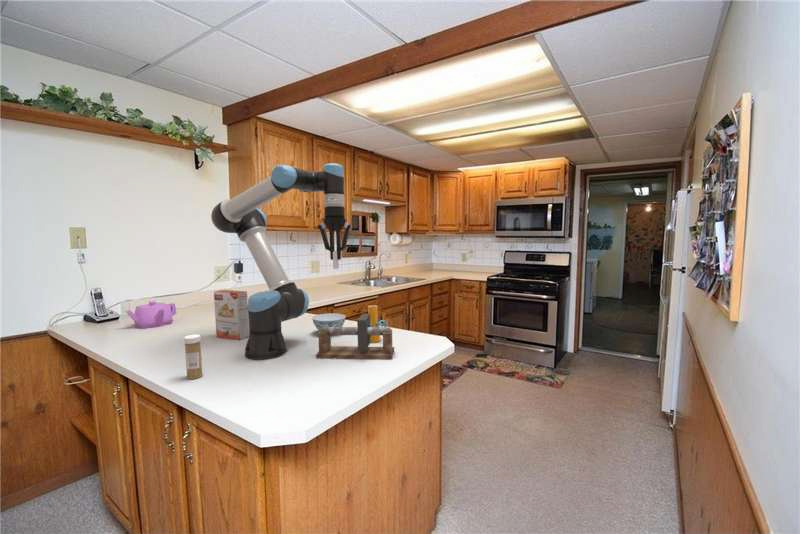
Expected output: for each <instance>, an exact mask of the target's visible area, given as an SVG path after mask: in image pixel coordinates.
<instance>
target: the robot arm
mask: <svg viewBox="0 0 800 534" xmlns="http://www.w3.org/2000/svg"><path fill="white" fill-rule="evenodd" d="M322 167H323V169H322V170H320V171H319V170H318V171H310V170H307V169H302V168H298V167H294V166H291V165H287V164H284V165H283V164H277V165H275V166H274V167H273V169H272V170H271V173H270V175H268V177H266V178H265V179H263V180H261V181H260V182H258V183H256V184H255V185H253V186H251V187H250V188H248V189H246V190H245V191H243V192H241V193H240V194H238V195H236V196H234V197H233V198H231V199H229V198H228V199H224V200H222V201H221V202H219V203H218V204H217V205H215V206H214V207H213V209H212V211H211V216H210V217H211V218H210V219H211V222H212V224H213V226H214V227H215V228H216V229H217V230H219V231H220V232H223V233H226V234H236V235H237V238H238V240H240V241H241V242H242V243H245V245H246V246H247V248H248V250H249V252H250V253H251V256H252V258H253V260H254V262H255V264H256V266H257V267H258V270H259V271H260V273H261V275H262V277H263V279H264V281H265V283H266V285H267V287H268V289H269V290H265V291H258V292H256V293H253V294H251V295H250V296H249V297H248V298H247V302H248V307H247V308H248V323H249V337H247V342H246V345H245V349H244V356H245V357H246V358H247V359H250V360H268V359H274V358H277V357H281V356H282V355H285V354H286V353H287V352H288V347H287V345H288V344H287V343H286V340H285V337H284V335H283V331H282V322H285V321H289V320H292V319H298V318H299V317H301V316H302V315H304V314H305V313H306V312H307V311H308V309H309V304H310V299H309V296H308V294H307V292H306V291H305V290H304V289H301V288H298V287H297V285H296V283H295V282H294V281H291V280H290V279H289V277H288V276H287V274H286V271H285V270H284V269H283V266H282V264H281V263H280V261H279V258H278V257H277V255H276V253H275V251H274V249H273V247H272V246H271V243H270V241H269V240H268V238H267V235H266V232H267V225H268V224H267V217H266V215H265V213H264V212H263V210H261V209H260V207H262V206H264V205H266V204H268V203H269V202H271V201H273V200H274V199H277V198H278V197H280V196H281V195H283V194H285V193H288V192H290V190H298V191H300V192H301V193H309V194H310V193H314V192H315V193H317V192H323V193H324V194H323V199H324V200H323V201H324V203H323V204H324V219H323V222H322V223H321V224H318V225H317V227H318V229H319V231H320V234H321V237H322V238H321V239H322V241H323V245H324V246H323V247H324V249H325V250H326V251H328V252H330V253H329V254H330V256H329V257H330V260H331V261H332V265H333V266H332V269H333V270H337V269H340V268H339V266H340V264H339V263H340V261H339V260H342V251H344V250H346V249H347V245H348V244H347V243H348V240H349V236H350V235H349V234H350V231H351V229H352V228H353V225H352V224H350V223H348V222H347V219H346V216H345V215H346V211H345V209H346V208H345V207H344V206H345V175H344V174H345V173H344V172H345V171H344V166H343V165H341V164H339V163H331V162H330V163H325V164H324V165H323V166H322ZM326 228H327V229H328V232H329V233H328V234H329V240H328V236H327V231H326ZM343 228H345V230H344V233H343V238H341V237H342V230H343ZM335 237H336V238H335ZM335 240H336V241H335ZM335 242H336V243H335ZM335 244H336V248H335Z"/></svg>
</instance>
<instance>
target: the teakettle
mask: <svg viewBox="0 0 800 534" xmlns="http://www.w3.org/2000/svg"><path fill="white" fill-rule="evenodd" d="M125 313H126V314H127V315H128V316H129V317H130V318H131V320H133V322H134V326H135V327H137V328H138V329H139V328H140V329H142V330H146V329H151V328H153V329H154V328H158V327H164V326H168V325H172V323H173V317H174V316H175V315H176V314H177V308H176V303H174V302H173V303H165V302H157V300H150V301H148V304H141V305H136V306H135V310H134V312H133V311H132V310H130V309H129V310H126V311H125Z"/></svg>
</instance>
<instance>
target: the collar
mask: <svg viewBox="0 0 800 534" xmlns="http://www.w3.org/2000/svg"><path fill="white" fill-rule="evenodd" d="M356 327H358V335H357V347H358V350H366V349H367V347H369V346H370V343H371V335H368V336H367V327H370V314H368V313H361V315H360V316H359V318H358V319H357V325H356Z"/></svg>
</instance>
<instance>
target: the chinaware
mask: <svg viewBox="0 0 800 534" xmlns="http://www.w3.org/2000/svg"><path fill="white" fill-rule="evenodd" d="M346 317H347V316H346V315H345V314H342V313H323V314H322V313H320V314H317V315H313V316H312V323H313V326H314V327H315V328H316V329H317V331H319V332H320V331H321V327H344V324H345V321H346Z"/></svg>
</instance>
